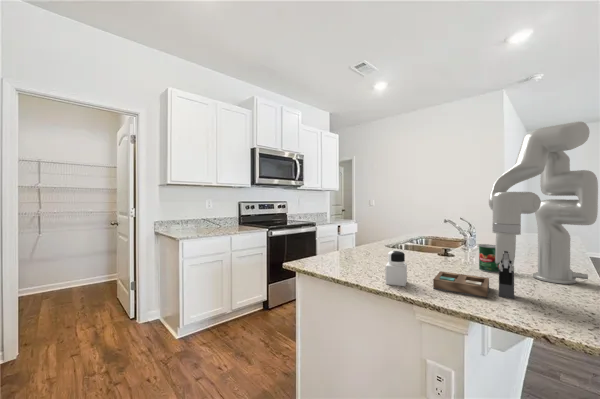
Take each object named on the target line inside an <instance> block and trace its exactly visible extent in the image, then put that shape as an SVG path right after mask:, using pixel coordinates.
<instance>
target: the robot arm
mask: <svg viewBox="0 0 600 399" xmlns="http://www.w3.org/2000/svg"><path fill="white" fill-rule="evenodd" d="M589 137H590V128H589V125H587V123H585V122H584V121H574V122H568V123H562V124H556V125H551V126H550V125H549V126H544V127H540V128H537V129H534V130H532V131H530V132H529V133H527V134H526V135H524V137H523V138H522V141H521V144H520V146H519V150H518V153H517V157H516V159H515V162H514V165H512V167H510V168H509V169H507V170H506V171H505V172H504V173H502V174H501V175H500V176H499V177H498V178H497V179H496V180H495V182H494V183H493V184H492V188H491V191H490V194H489V198H488V206H489V208H490V210H491V211H492V233H493V234H495V245H496V248H495V263H496V264H498V263H500V264H501V271H500V284H505V285H512V272H511V265H514V266H515V259H516V258H515V257H516V248H517V247H516V246H517V244H516V243H517V236H520V235H521V233H522V232H521V231H522V230H521V227H522V226H521V224H522V215H526V214H527V215H531V214H534V213H535V214H534V215H535V219H536V226H537V272H533V273H532V277H533V278H535V279H537V280H539V281H544V282H546V283H547V282H548V283H553V284H562V285H572V284H577V280H576V279H581V280H589V275H588V273H582V272H576V271H573V269H571V235H570V233H569V231H568V230H567V229H566V228H565V227H564V226H563V225H571V226H591V225H593V224H595V223H596V222H597V220H598V212H599V211H598V210H599V209H598V208H599V204H598V203H599V181H598V177H597V175H596V174H595V173H594V172H593V171H591V170H589V169H588V170H586V169H582V170H579V169H578V170H571V164H570V163H571V161H570V160H571V159H570V156H569V155H568V154H567V153H566V151H571V150H575V149H577V148H578V147H580V146H583V145H584V144H586V143H587V141H588V139H589ZM539 175H540V178H539V179H540V183H539V184H540V191H541V193H542V194H543V195H545V196H552V197H577V198H578V199H566V198H565V199H564V198H563V199H561V198H559V199H558V198H553V199H552V198H551V199H543V200H541V198H540V196H539V195H538V194H537V193H535V192H532V191H508V190H510V188H512V187H514V186H515V185H517V184H519V183H521V182H525V181H528V180H529V179H532V178H534V177H535V178H536V177H537V176H539Z"/></svg>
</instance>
